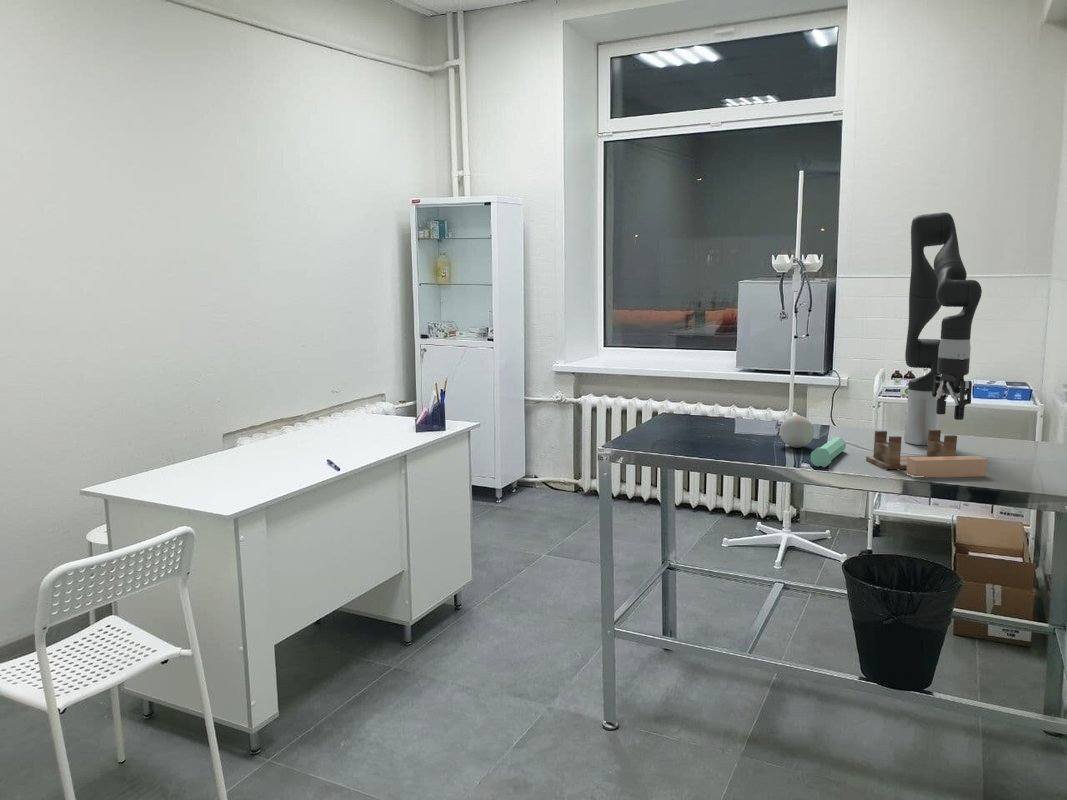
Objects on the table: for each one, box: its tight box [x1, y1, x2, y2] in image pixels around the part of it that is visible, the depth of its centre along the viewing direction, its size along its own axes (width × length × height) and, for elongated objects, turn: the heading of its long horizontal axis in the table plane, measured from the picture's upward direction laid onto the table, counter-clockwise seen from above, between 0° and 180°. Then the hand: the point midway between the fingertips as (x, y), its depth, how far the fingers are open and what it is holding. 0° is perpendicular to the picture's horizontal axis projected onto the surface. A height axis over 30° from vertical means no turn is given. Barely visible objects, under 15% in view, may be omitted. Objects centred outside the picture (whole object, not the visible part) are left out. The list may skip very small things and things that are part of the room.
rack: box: [865, 429, 958, 471], centre depth 237 cm, size 12×22×9 cm, turn 94°
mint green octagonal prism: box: [810, 436, 847, 468], centre depth 246 cm, size 6×6×25 cm
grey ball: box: [779, 415, 815, 449], centre depth 261 cm, size 10×10×10 cm
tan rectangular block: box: [905, 455, 988, 478], centre depth 225 cm, size 4×20×5 cm, turn 95°
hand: (949, 416), depth 223 cm, fingers open, 8 cm apart
